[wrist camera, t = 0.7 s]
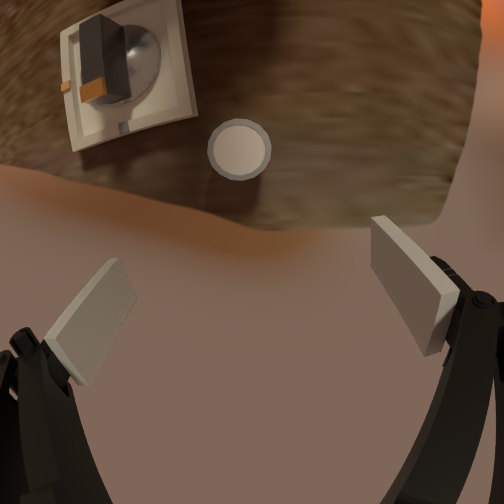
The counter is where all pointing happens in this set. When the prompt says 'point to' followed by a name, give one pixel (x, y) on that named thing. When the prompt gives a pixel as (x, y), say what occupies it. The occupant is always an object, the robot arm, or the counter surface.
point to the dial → (116, 61)
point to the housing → (153, 99)
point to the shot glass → (239, 149)
